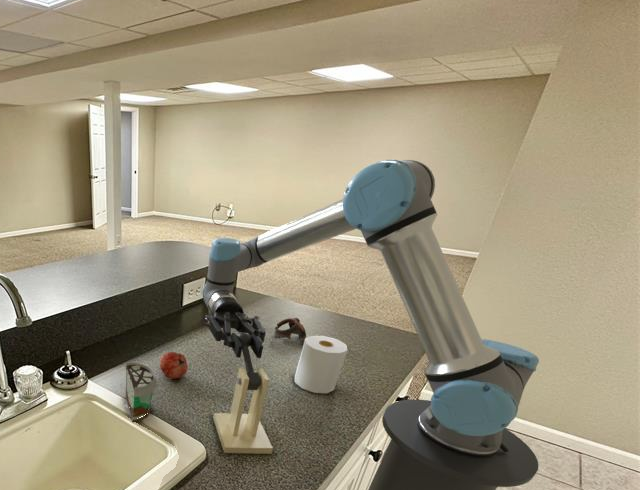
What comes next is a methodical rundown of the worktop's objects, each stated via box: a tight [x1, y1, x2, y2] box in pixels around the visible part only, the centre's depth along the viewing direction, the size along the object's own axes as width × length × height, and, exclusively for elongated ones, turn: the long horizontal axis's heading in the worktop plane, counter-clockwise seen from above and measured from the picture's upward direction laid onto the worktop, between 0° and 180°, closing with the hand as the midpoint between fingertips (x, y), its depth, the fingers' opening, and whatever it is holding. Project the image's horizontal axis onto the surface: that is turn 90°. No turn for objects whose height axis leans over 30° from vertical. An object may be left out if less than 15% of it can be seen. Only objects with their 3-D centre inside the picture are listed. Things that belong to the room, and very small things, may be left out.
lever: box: [236, 332, 261, 391], centre depth 85 cm, size 14×4×4 cm, turn 0°
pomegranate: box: [159, 351, 189, 380], centre depth 109 cm, size 7×7×10 cm
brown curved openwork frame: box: [273, 317, 307, 346], centre depth 132 cm, size 12×10×8 cm
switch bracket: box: [212, 367, 274, 455], centre depth 85 cm, size 12×10×16 cm
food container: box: [125, 361, 158, 423], centre depth 94 cm, size 12×6×10 cm, turn 9°
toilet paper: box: [294, 335, 348, 394], centre depth 106 cm, size 10×10×12 cm
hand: (249, 352), depth 84 cm, fingers closed on lever, 4 cm apart
